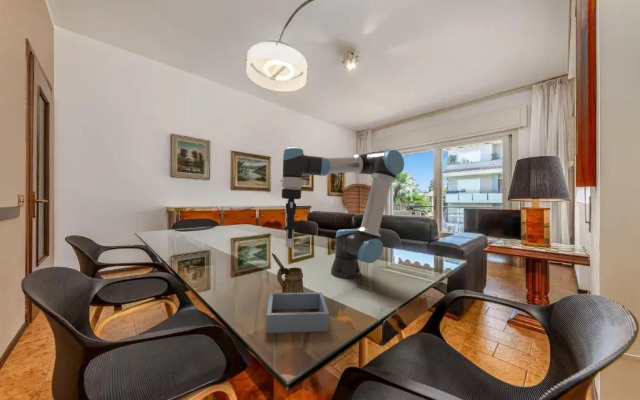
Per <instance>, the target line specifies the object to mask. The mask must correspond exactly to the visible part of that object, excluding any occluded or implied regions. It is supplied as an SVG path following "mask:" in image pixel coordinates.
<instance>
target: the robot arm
mask: <svg viewBox="0 0 640 400" xmlns="http://www.w3.org/2000/svg"><path fill="white" fill-rule="evenodd" d="M404 167H405V160H404V157H403V155H402V153H401V152H400V151H398V150H397V149H386V150H380V151H371V152H368V153H363V154H355V155H353V156H350V157H347V156H344V157H323V156H314V155H307V154H305V153H304V149H302V148H299V147H287V148H285V149H284V150H283V157H282V178H281V179H280V182H281V184H282V186H281V187H282V189H281V198H282V199H285V200H287V201H286V203H285V214H286V226H284V230H285V248H294V235H295V234H294V233H295V215H296V209H297V203H296V201H295V200H301V199H302V190H301V189H302V187H303V176H320V177H323V176H324V177H325V176H327V175H329V174H330V175H331V174H343V173H344V174H346V173H354V174H355V175H359V174H360V175H370V176H371V177H372V183H371V186H370V190H369V193H368V198H367V201H366V205H365V210H364V213H363V217H362V220H361V225H360V227H358V228H357V229H355V228H350V229H349V228H348V229H346V228H345V229H338V230H337V231H336V234H335V251H334V260H333V262H332V265H331V268H330V273H331V275H332V276H333V277H337V278H341V279H356V278H358V277H357V276H359V275H360V276H361V268H360V264H359V261H360V262H363V263H366V264H373V263H376V262H377V261H378V260H379V259H380V258H381V257H382V255H383V251H384V244H383V242H382V241H381V237H382V236H381V234H380V229H381V225H382V219H383V216H384V213H385V207H386V204H387V200H388V196H389V192H390V189H391V185H392V183H393V182H395V181H396V178H397V175H400V174H402V172H403V171H404ZM358 260H359V261H358ZM360 276H359V277H360ZM355 277H356V278H355Z"/></svg>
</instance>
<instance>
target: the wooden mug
mask: <svg viewBox="0 0 640 400" xmlns="http://www.w3.org/2000/svg"><path fill="white" fill-rule="evenodd" d="M271 256H272V257H273V260H274V261H275V263H276V264H277V265H278V267H279V269H278V271H277V272H276V273H277V274H276V279H277V281H278V283H279V285H280V286H281V290H282V292H281V293H305V292H304V280H303V278H304V274H303V270H302V268H301V267H290V268H288V267H284V265H283V263H282V262H281V260H280V259H279V258H278V256H277V255H276V254H274V253H273V252H272V253H271ZM283 276H284V280H283V278H282V277H283Z"/></svg>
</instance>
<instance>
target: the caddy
mask: <svg viewBox="0 0 640 400" xmlns="http://www.w3.org/2000/svg"><path fill="white" fill-rule="evenodd" d="M324 297H325V296H324V294H323V292H318V291H317V292H304V293H282V292H270V293H269V297H268V305H267V310H266V322H265V323H266V324H265V326H266V327H265V331H266V332H265V334H276V333H277V334H281V333H283V334H284V333H309V332H311V333H313V332H315V333H316V332H329V327H330V326H329V324H330V312H329V310H328V305H327V302H326V300H325V298H324ZM305 309H306V310H310V309H312V310H317V309H318V311H309V312H304V311H303V312H274V310H305Z"/></svg>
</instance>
